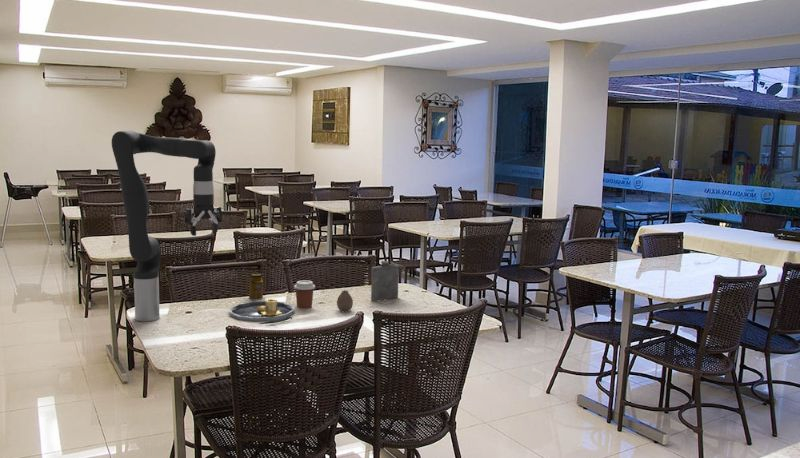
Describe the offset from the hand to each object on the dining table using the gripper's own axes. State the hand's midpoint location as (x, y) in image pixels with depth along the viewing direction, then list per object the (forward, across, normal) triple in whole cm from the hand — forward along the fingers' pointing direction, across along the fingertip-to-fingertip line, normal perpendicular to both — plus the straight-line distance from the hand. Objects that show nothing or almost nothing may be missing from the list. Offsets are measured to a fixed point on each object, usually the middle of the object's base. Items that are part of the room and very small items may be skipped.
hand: (204, 234), depth 253 cm
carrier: (+36, -24, +2) cm, 44 cm away
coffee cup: (+36, -44, +5) cm, 57 cm away
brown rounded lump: (+36, -56, +18) cm, 69 cm away
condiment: (+36, -35, -20) cm, 54 cm away
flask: (+36, -83, +14) cm, 92 cm away
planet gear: (+35, -24, +9) cm, 44 cm away
